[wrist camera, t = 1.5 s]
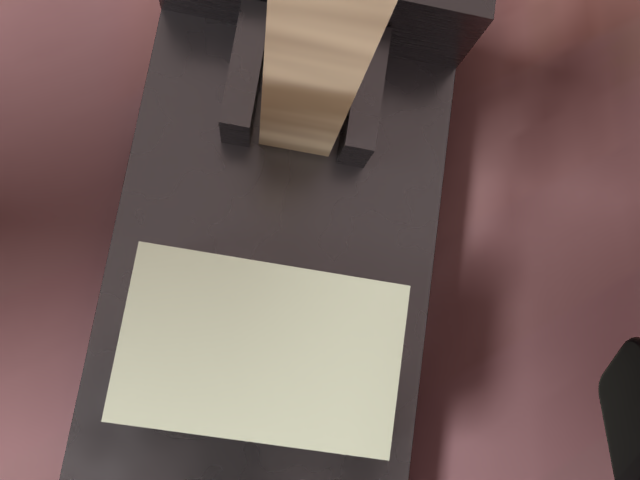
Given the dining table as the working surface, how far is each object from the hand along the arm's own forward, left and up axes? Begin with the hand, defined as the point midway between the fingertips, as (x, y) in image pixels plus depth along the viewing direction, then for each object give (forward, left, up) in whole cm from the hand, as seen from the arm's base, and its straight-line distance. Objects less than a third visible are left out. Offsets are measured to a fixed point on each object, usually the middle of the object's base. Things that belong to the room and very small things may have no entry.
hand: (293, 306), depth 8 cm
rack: (+2, +3, -14) cm, 14 cm away
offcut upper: (0, -1, -11) cm, 11 cm away
